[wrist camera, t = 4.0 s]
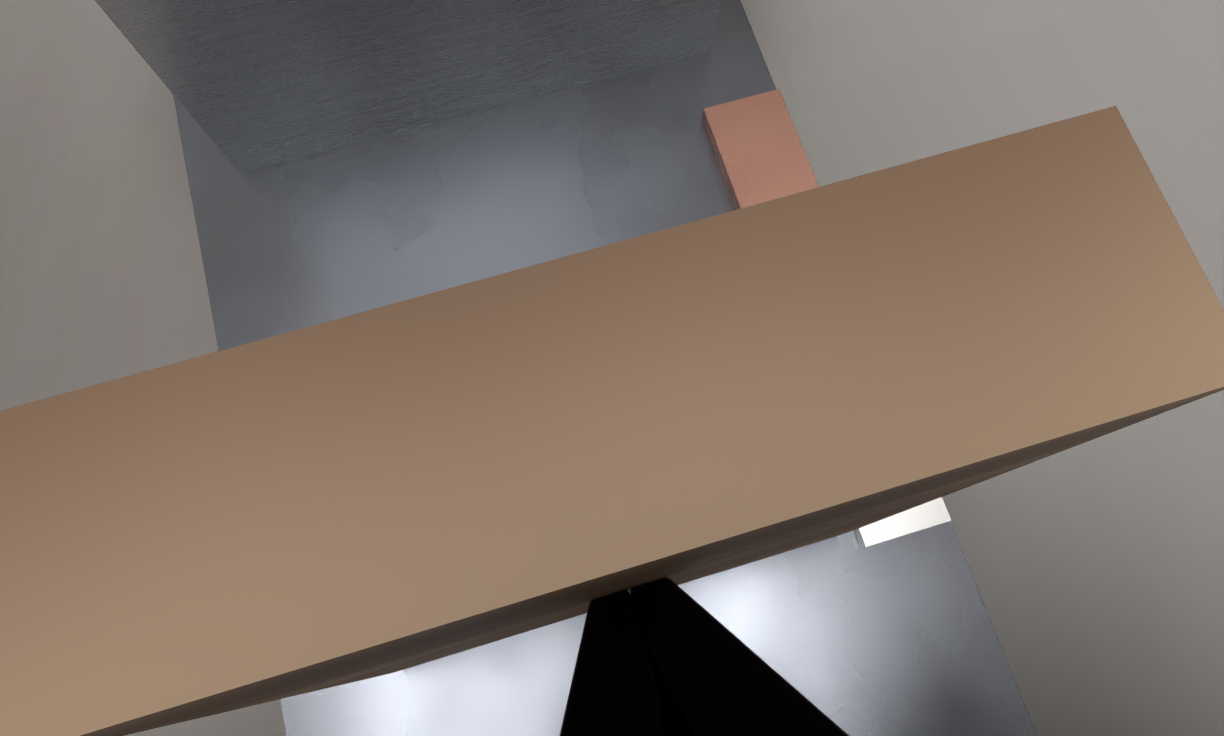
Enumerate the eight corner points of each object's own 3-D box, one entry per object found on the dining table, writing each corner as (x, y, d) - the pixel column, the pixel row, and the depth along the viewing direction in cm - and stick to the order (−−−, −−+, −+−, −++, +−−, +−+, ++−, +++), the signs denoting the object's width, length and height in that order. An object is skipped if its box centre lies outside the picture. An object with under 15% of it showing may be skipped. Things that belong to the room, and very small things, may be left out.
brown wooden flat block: (951, 500, 15) (1540, 289, 6) (392, 673, 14) (-58, 777, 5) (908, 394, 16) (1376, 34, 6) (367, 555, 15) (-83, 433, 5)
